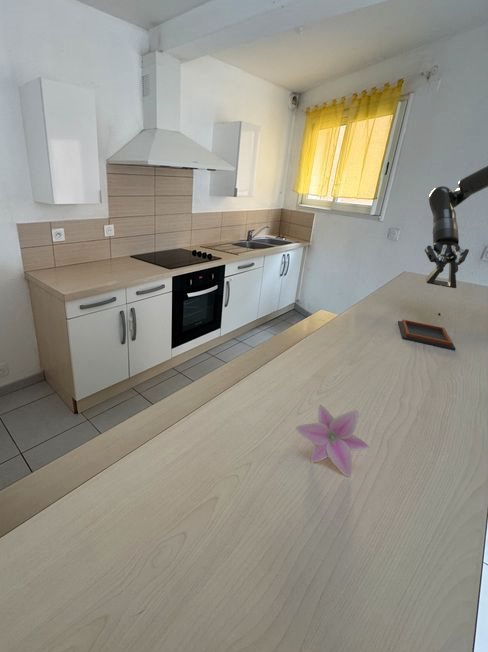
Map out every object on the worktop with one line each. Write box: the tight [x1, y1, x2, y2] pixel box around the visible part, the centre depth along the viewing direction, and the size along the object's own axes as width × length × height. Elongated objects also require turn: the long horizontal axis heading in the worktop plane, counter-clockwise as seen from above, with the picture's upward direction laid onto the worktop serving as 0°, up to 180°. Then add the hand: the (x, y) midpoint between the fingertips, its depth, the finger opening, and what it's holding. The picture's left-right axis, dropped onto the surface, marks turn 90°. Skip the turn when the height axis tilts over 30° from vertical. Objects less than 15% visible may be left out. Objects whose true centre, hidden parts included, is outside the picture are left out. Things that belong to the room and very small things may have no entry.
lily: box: [295, 404, 370, 478], centre depth 63 cm, size 12×12×10 cm
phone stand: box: [425, 250, 458, 289], centre depth 118 cm, size 9×6×12 cm, turn 57°
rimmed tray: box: [397, 319, 456, 351], centre depth 115 cm, size 15×15×2 cm
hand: (447, 272), depth 116 cm, fingers closed on phone stand, 3 cm apart
